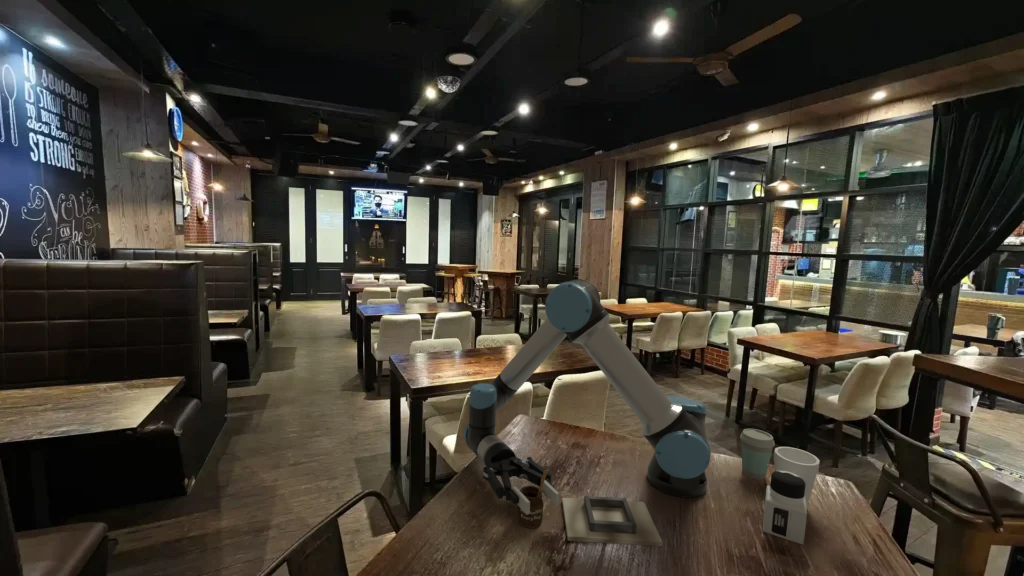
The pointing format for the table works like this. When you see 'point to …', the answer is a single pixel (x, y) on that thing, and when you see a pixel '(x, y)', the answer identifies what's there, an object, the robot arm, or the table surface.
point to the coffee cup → (756, 452)
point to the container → (785, 507)
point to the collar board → (609, 521)
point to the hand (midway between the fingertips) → (543, 503)
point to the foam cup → (798, 465)
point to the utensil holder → (532, 505)
